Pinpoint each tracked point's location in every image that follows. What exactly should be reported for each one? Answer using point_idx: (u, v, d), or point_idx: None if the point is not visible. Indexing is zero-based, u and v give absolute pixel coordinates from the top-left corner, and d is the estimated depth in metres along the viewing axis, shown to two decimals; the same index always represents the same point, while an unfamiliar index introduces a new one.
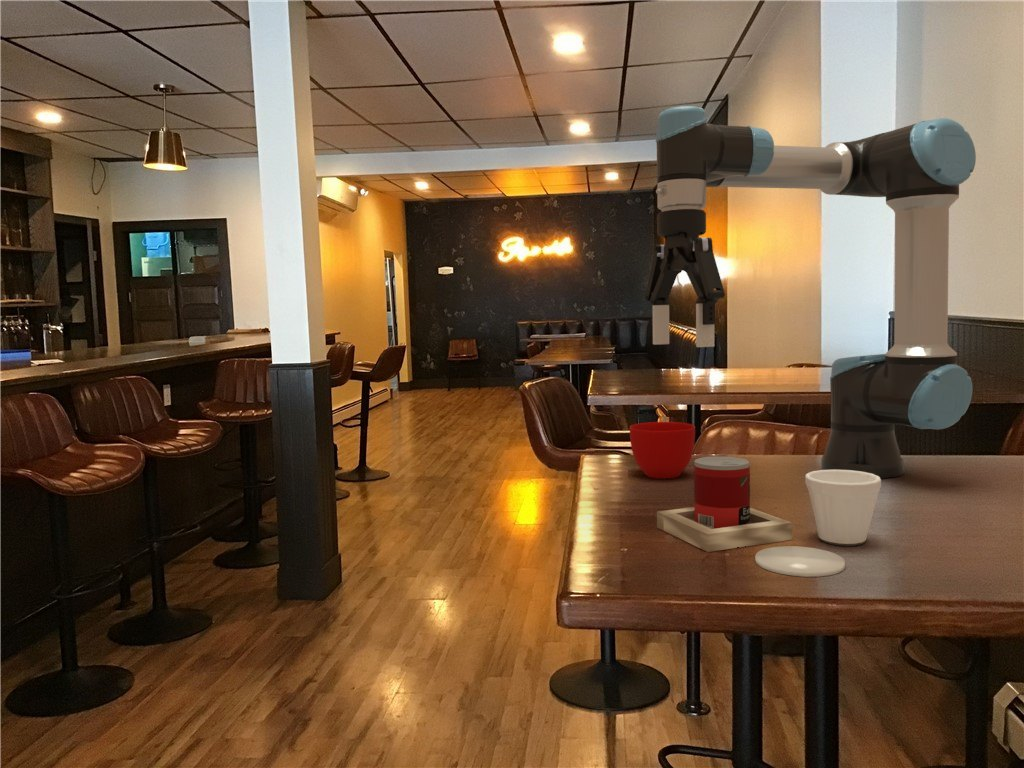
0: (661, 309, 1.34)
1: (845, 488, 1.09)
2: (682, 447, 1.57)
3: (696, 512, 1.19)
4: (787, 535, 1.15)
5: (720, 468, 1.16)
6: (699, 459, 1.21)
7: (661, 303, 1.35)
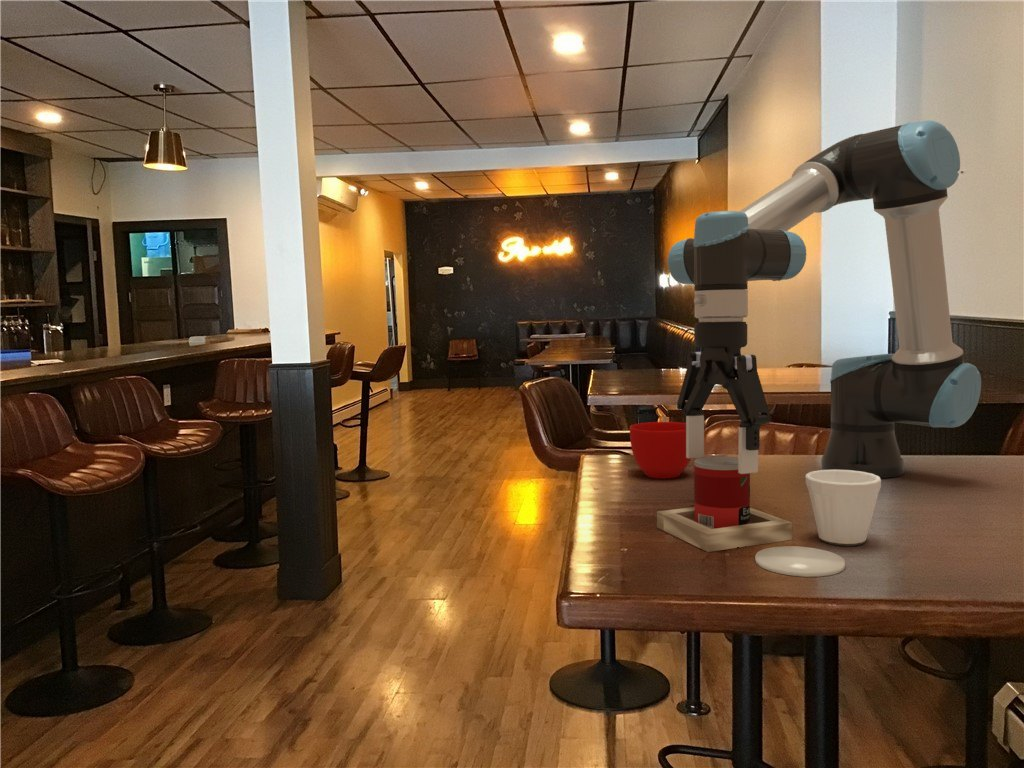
0: (695, 420, 1.25)
1: (845, 488, 1.09)
2: (682, 447, 1.57)
3: (696, 512, 1.19)
4: (787, 535, 1.15)
5: (720, 468, 1.16)
6: (699, 459, 1.21)
7: (695, 413, 1.25)
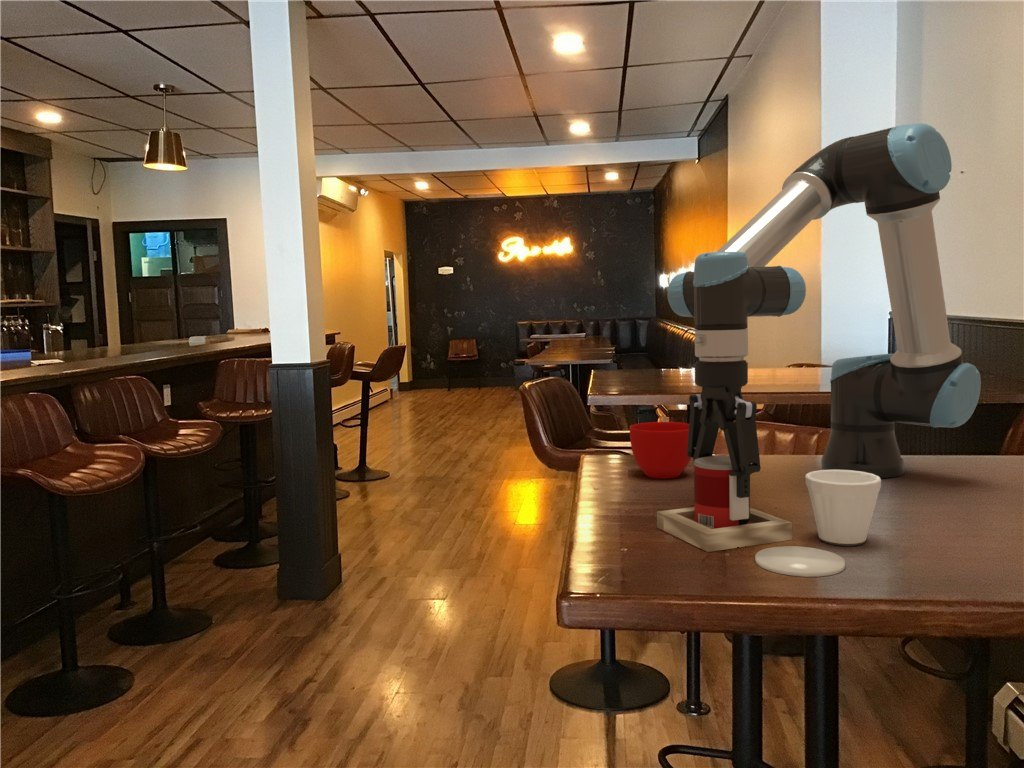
0: None
1: (845, 488, 1.09)
2: (682, 447, 1.57)
3: (696, 512, 1.19)
4: (787, 535, 1.15)
5: (720, 468, 1.16)
6: (699, 459, 1.21)
7: None
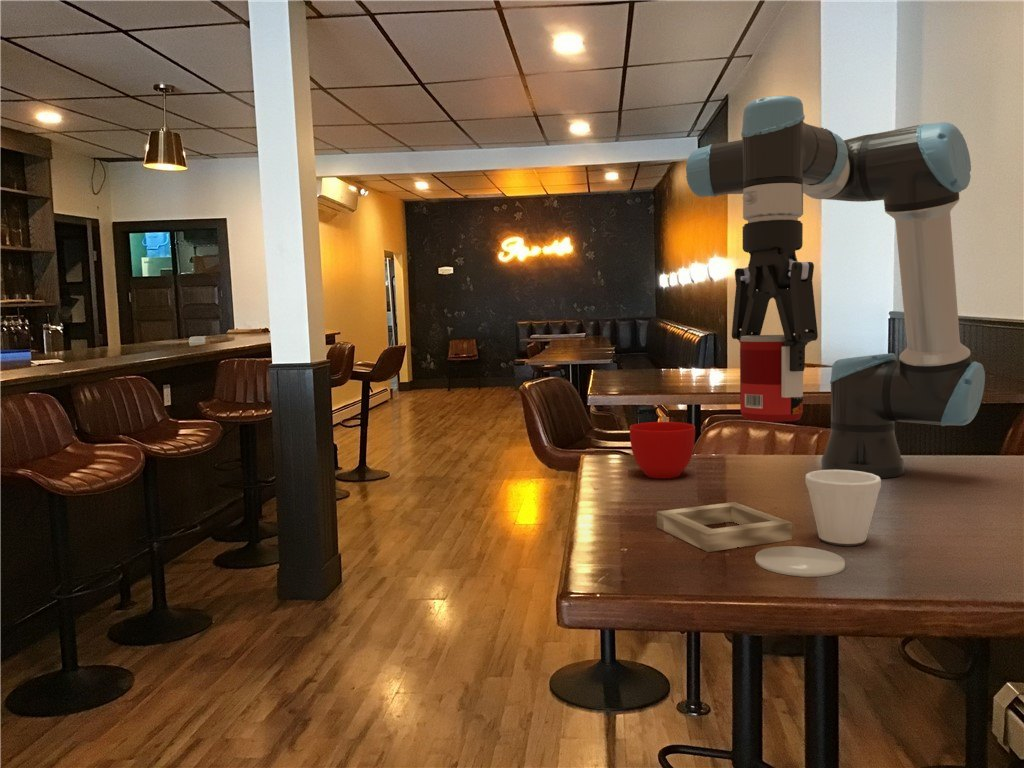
0: None
1: (845, 488, 1.09)
2: (682, 447, 1.57)
3: (742, 393, 1.07)
4: (787, 535, 1.15)
5: (770, 340, 1.03)
6: (746, 336, 1.09)
7: None
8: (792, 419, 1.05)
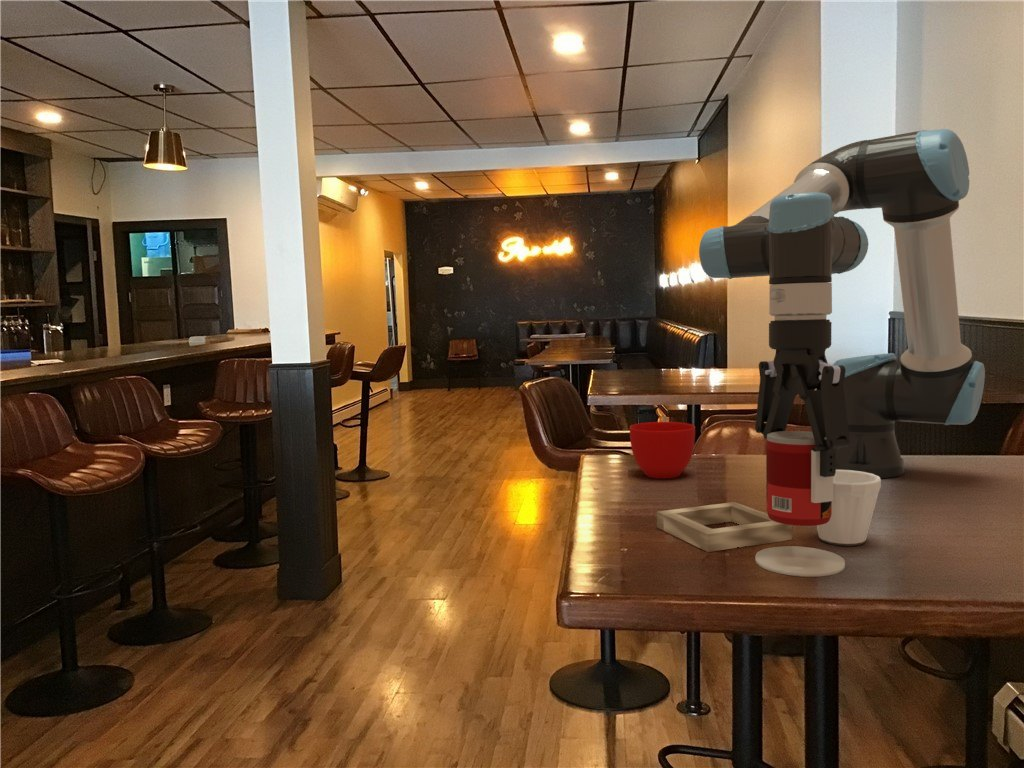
0: None
1: (845, 488, 1.09)
2: (682, 447, 1.57)
3: (769, 494, 1.04)
4: (787, 535, 1.15)
5: (800, 443, 1.00)
6: (772, 434, 1.06)
7: None
8: (822, 523, 1.02)
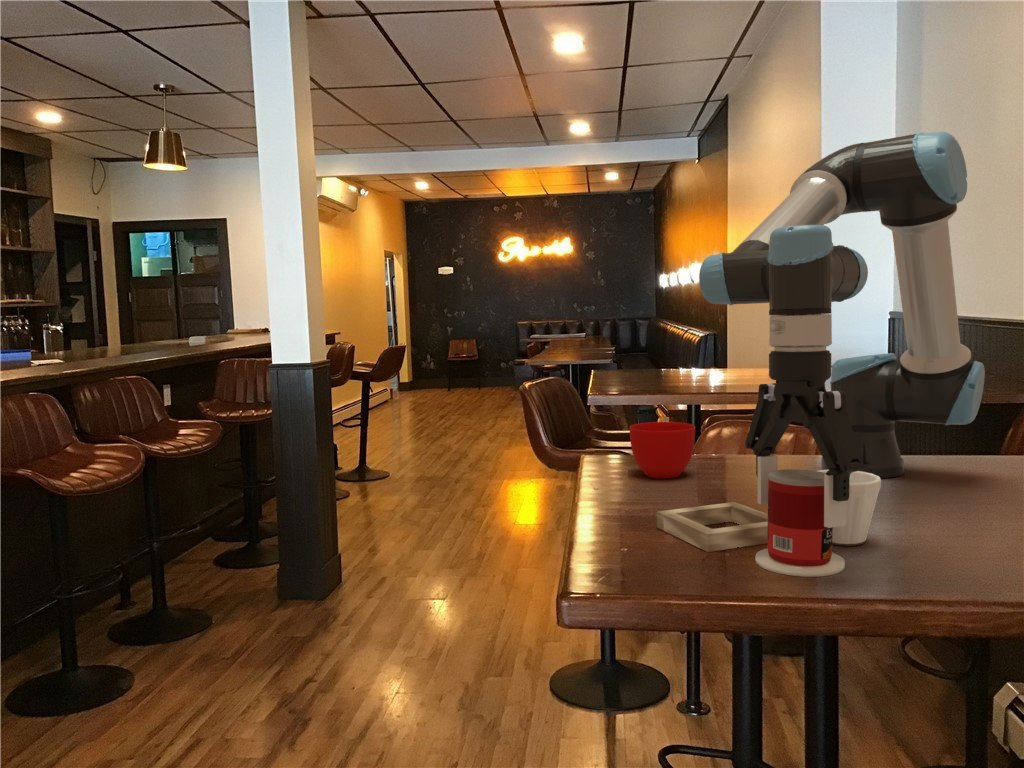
0: (768, 461, 1.10)
1: None
2: (682, 447, 1.57)
3: (770, 533, 1.05)
4: None
5: (802, 484, 1.01)
6: (774, 472, 1.06)
7: (767, 453, 1.11)
8: (822, 564, 1.02)
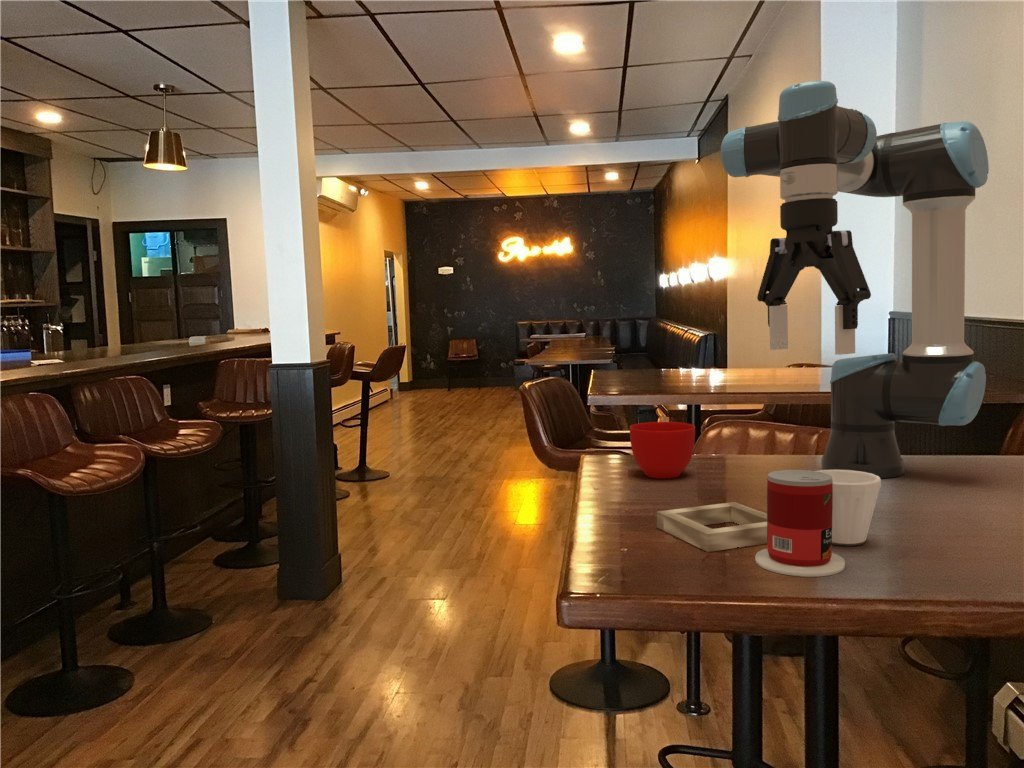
0: (779, 310, 1.20)
1: (845, 488, 1.09)
2: (682, 447, 1.57)
3: (770, 534, 1.05)
4: None
5: (800, 484, 1.01)
6: (773, 473, 1.06)
7: (778, 303, 1.21)
8: (822, 564, 1.02)
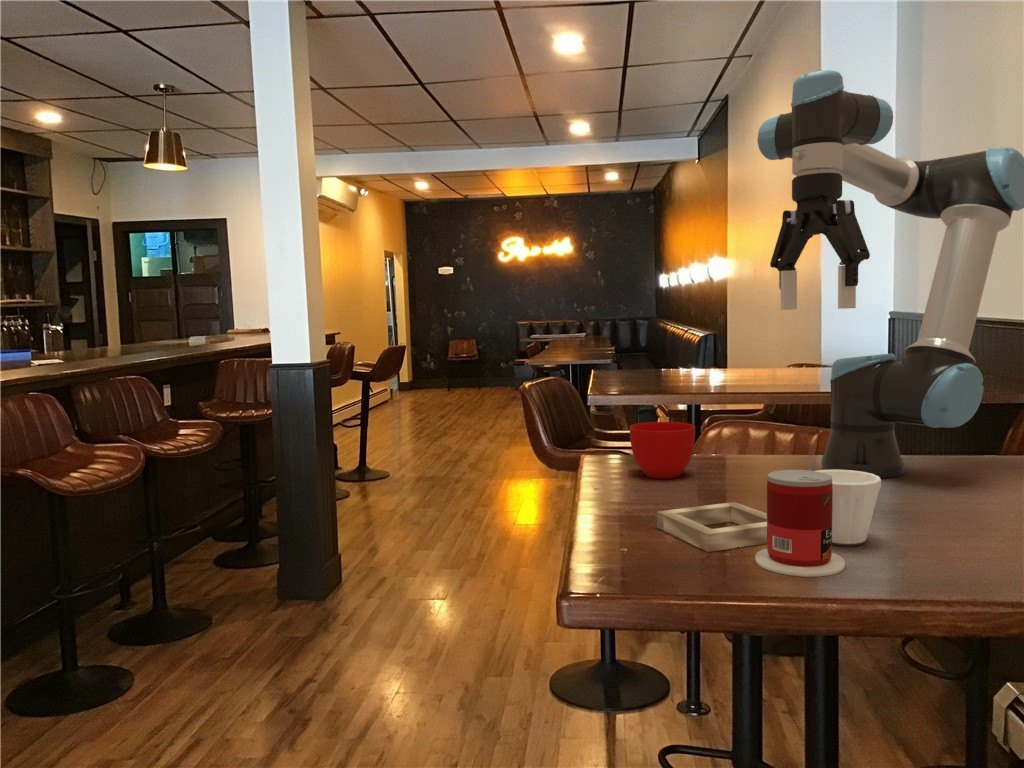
0: (789, 274, 1.36)
1: (845, 488, 1.09)
2: (682, 447, 1.57)
3: (770, 534, 1.05)
4: None
5: (800, 485, 1.01)
6: (772, 473, 1.06)
7: (789, 269, 1.36)
8: (822, 564, 1.02)
